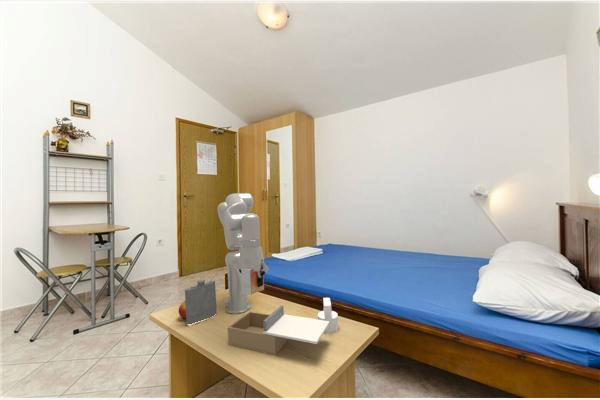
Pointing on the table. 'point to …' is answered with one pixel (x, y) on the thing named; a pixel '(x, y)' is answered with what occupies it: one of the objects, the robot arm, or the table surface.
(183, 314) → the apple
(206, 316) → the grey flat upright block
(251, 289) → the small box
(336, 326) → the base with upright slab
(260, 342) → the tray
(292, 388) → the table surface
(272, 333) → the lid
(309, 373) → the table surface
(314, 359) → the table surface
